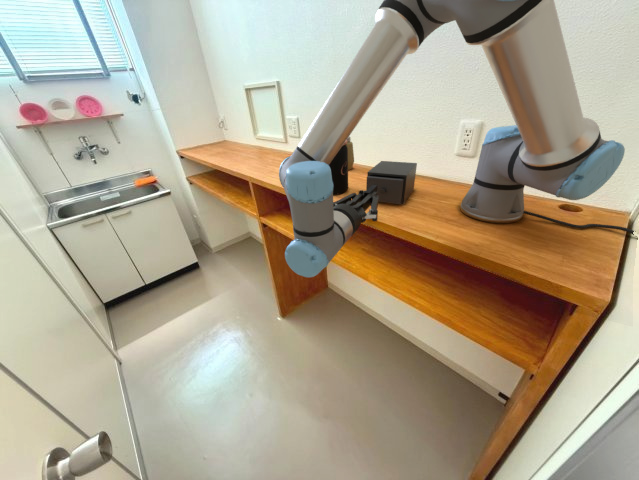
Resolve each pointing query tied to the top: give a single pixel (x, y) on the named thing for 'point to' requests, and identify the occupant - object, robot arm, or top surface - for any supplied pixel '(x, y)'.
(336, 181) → the coffee jar
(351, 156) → the squeeze bottle
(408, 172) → the cabinet
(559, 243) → the top surface
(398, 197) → the drawer
